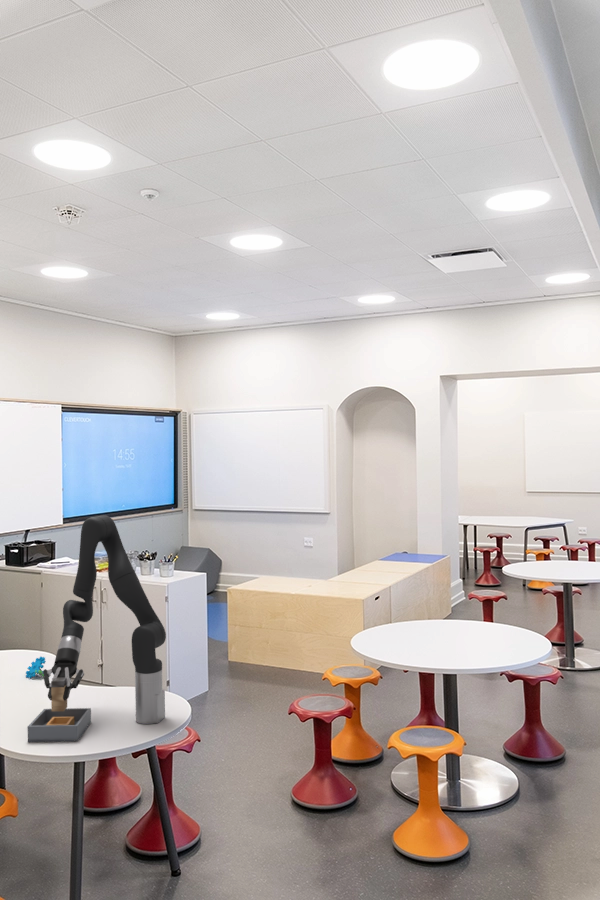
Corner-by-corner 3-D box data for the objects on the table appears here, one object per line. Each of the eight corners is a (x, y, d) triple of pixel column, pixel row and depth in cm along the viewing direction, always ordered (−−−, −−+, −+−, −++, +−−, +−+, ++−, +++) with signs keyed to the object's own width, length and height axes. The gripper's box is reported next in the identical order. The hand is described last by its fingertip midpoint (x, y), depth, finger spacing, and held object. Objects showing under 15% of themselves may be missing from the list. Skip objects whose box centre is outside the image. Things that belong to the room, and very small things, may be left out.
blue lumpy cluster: (22, 670, 309) (39, 651, 312) (32, 678, 311) (49, 659, 314) (28, 681, 299) (46, 661, 302) (38, 689, 302) (56, 669, 305)
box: (91, 722, 254) (90, 708, 254) (77, 741, 238) (77, 725, 238) (44, 723, 254) (44, 708, 254) (27, 742, 238) (27, 726, 238)
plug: (67, 707, 248) (67, 677, 248) (63, 711, 244) (63, 681, 244) (55, 707, 248) (55, 677, 248) (51, 711, 244) (51, 681, 244)
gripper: (45, 646, 253) (33, 694, 241) (87, 646, 253) (76, 694, 242) (50, 657, 259) (38, 704, 247) (91, 657, 259) (81, 704, 247)
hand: (57, 699), depth 244 cm, fingers closed on plug, 4 cm apart
